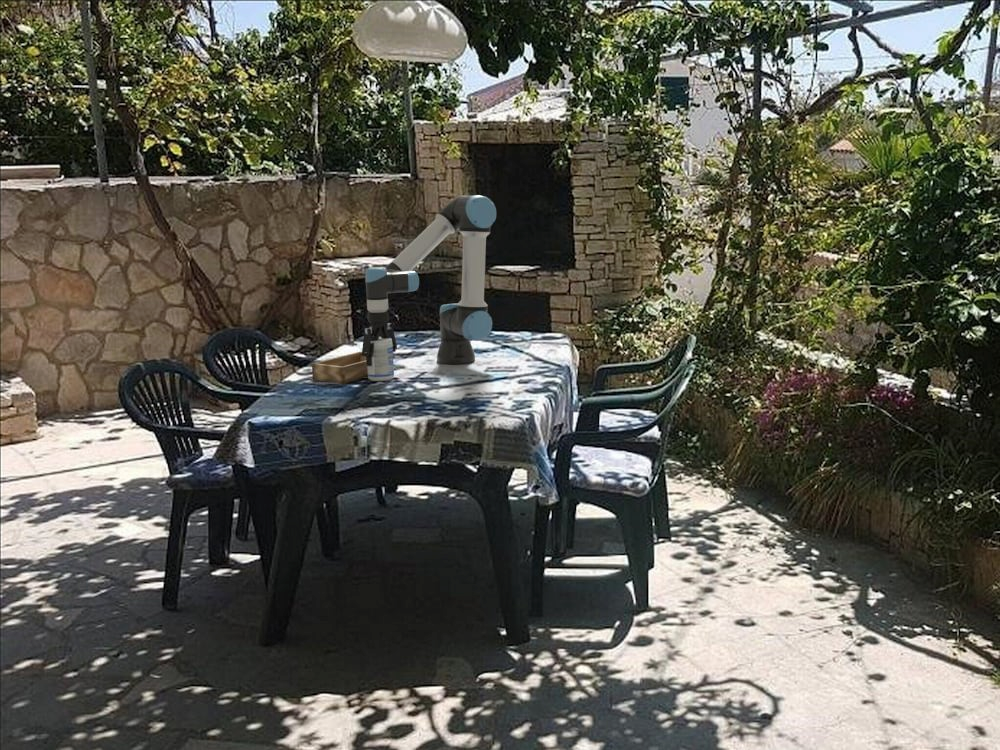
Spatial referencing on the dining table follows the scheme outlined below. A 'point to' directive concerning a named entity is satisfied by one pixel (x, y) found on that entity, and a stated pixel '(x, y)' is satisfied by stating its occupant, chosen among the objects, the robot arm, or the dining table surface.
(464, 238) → the robot arm
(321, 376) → the walled box
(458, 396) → the dining table surface
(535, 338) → the dining table surface
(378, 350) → the supplement tub
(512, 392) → the dining table surface
